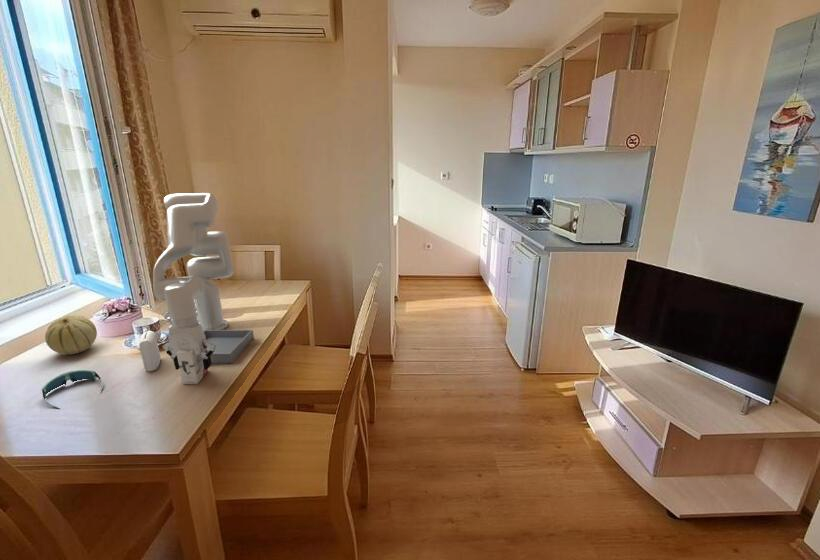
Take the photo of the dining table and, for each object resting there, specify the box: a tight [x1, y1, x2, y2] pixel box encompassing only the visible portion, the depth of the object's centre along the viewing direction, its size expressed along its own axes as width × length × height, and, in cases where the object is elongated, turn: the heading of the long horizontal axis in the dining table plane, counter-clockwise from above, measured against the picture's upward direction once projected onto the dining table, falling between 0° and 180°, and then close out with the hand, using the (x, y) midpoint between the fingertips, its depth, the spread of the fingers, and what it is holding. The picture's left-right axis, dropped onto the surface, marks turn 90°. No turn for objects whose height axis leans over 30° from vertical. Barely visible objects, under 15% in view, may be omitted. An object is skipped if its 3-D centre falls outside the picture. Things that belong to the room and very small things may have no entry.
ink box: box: [176, 351, 209, 385], centre depth 128 cm, size 9×5×12 cm, turn 5°
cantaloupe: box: [44, 314, 98, 355], centre depth 145 cm, size 15×15×15 cm
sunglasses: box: [41, 369, 104, 408], centre depth 122 cm, size 14×15×5 cm
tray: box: [204, 329, 255, 365], centre depth 147 cm, size 20×20×4 cm
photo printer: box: [138, 330, 162, 372], centre depth 136 cm, size 10×4×12 cm, turn 26°
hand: (193, 367), depth 129 cm, fingers open, 9 cm apart
